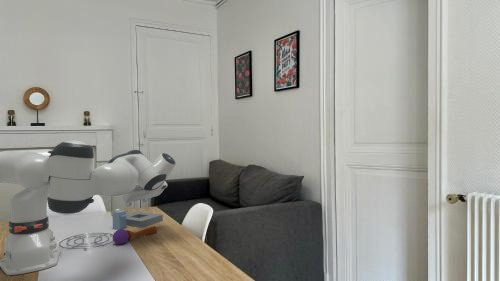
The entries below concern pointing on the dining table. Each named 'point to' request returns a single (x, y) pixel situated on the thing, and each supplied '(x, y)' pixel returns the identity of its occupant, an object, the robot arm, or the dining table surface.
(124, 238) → the purple maraca
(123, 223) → the servo
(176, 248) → the dining table surface
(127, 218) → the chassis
